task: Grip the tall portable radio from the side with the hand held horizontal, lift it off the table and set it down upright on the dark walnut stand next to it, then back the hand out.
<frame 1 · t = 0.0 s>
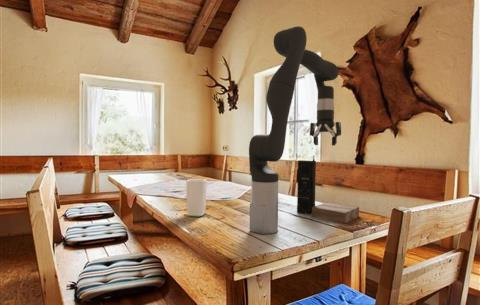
hand: (324, 145, 136), 29 cm above the table, fingers open, 8 cm apart
cup: (196, 216, 124), on the table
portable radio: (305, 212, 130), on the table
walnut stand: (335, 216, 123), on the table
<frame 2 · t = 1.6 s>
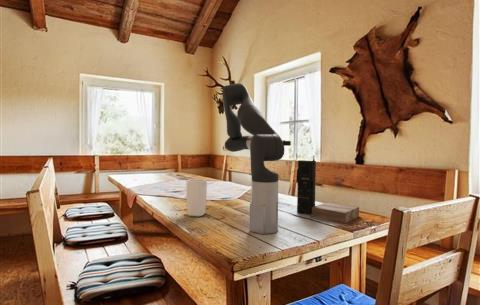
hand: (285, 143, 136), 30 cm above the table, fingers open, 8 cm apart
nothing on the table moved.
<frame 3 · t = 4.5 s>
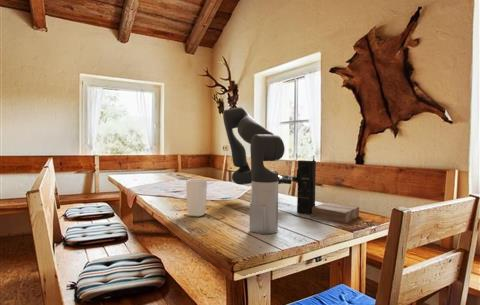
hand: (296, 180, 133), 13 cm above the table, fingers open, 8 cm apart
nothing on the table moved.
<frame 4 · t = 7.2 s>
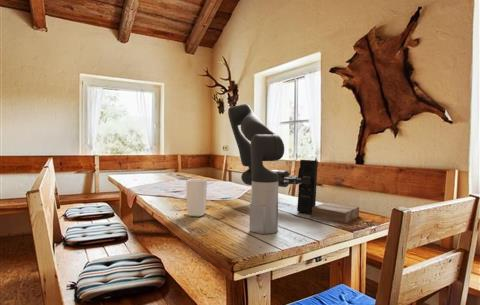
hand: (311, 181, 128), 14 cm above the table, fingers closed on portable radio
portable radio: (305, 212, 130), on the table, touching gripper
everything else where it was.
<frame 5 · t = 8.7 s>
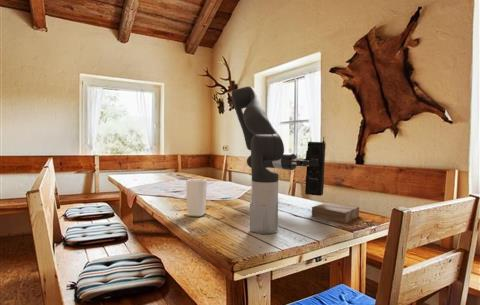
hand: (319, 163, 126), 22 cm above the table, fingers closed on portable radio
portable radio: (313, 194, 129), point 8 cm above the table, touching gripper
everything else where it was.
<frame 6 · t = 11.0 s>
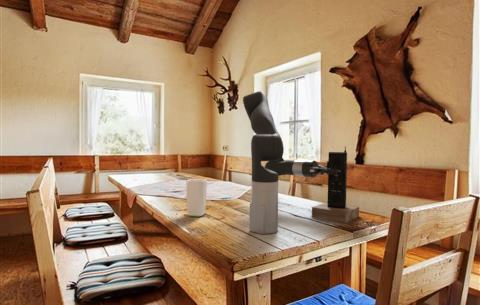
hand: (340, 171, 121), 19 cm above the table, fingers open, 8 cm apart
portable radio: (335, 207, 124), point 4 cm above the table, touching walnut stand
everything else where it was.
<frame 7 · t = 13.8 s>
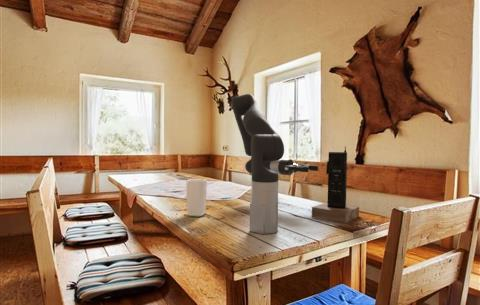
hand: (313, 169, 129), 19 cm above the table, fingers open, 8 cm apart
nothing on the table moved.
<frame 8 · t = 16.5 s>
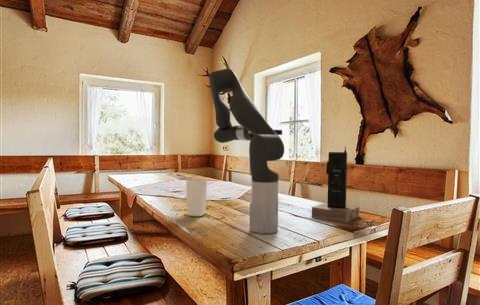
hand: (276, 132, 130), 35 cm above the table, fingers open, 8 cm apart
nothing on the table moved.
at the end: portable radio inside the target area on the walnut stand (0.8 cm from its centre), point 3.8 cm above the walnut stand's base; portable radio tilted 0°; the gripper is holding nothing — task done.
